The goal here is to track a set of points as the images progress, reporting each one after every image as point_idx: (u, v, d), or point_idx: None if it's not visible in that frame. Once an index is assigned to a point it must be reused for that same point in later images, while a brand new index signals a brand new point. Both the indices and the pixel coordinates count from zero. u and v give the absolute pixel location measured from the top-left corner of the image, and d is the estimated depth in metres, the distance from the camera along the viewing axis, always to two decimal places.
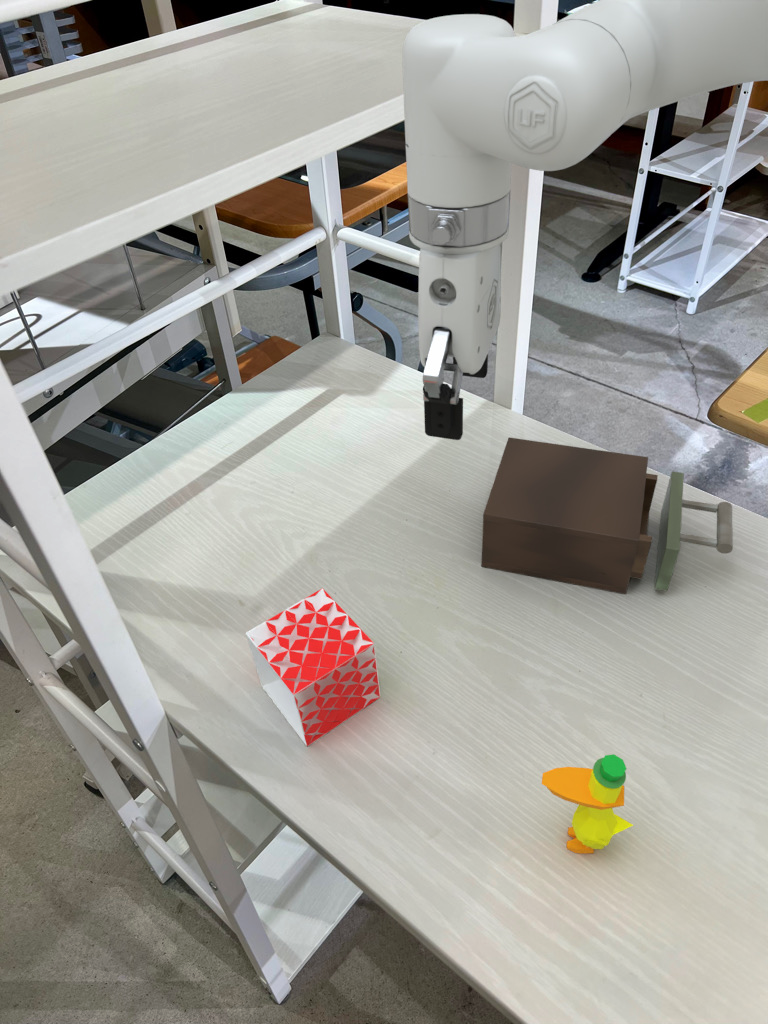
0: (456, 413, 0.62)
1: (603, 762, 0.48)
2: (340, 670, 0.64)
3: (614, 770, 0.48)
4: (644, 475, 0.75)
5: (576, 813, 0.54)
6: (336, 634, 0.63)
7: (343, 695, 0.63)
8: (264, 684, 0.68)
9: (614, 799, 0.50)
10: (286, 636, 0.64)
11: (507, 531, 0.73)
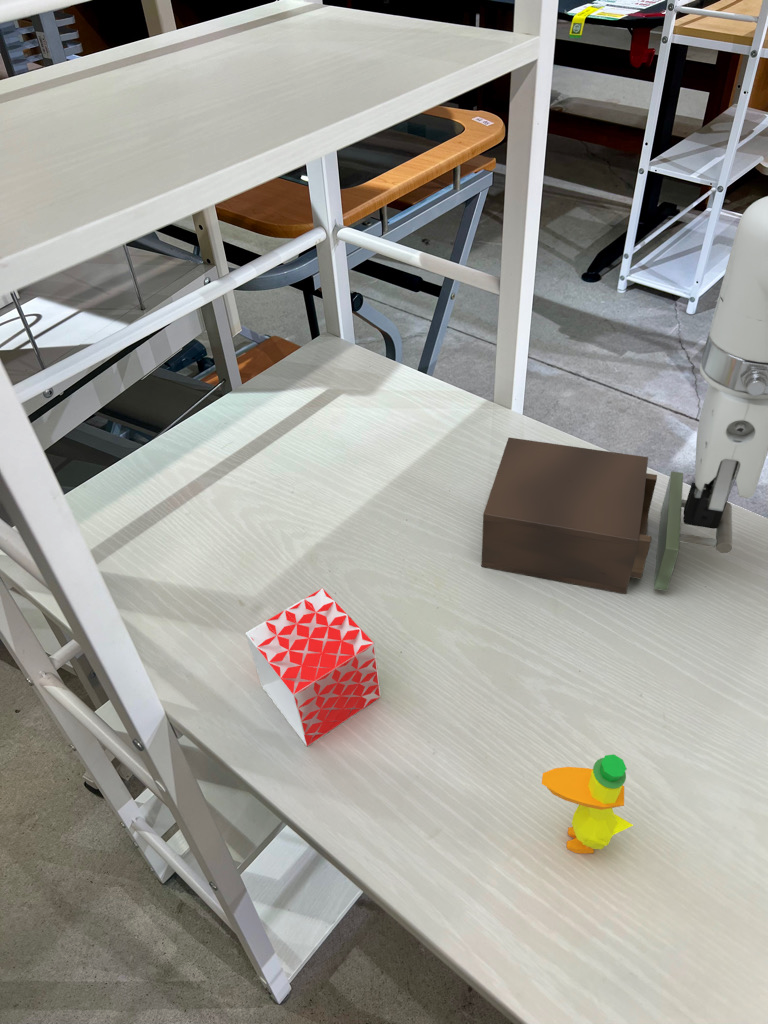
0: None
1: (603, 762, 0.48)
2: (340, 670, 0.64)
3: (614, 770, 0.48)
4: (644, 475, 0.75)
5: (576, 813, 0.54)
6: (336, 634, 0.63)
7: (343, 695, 0.63)
8: (264, 684, 0.68)
9: (614, 799, 0.50)
10: (286, 636, 0.64)
11: (507, 531, 0.73)
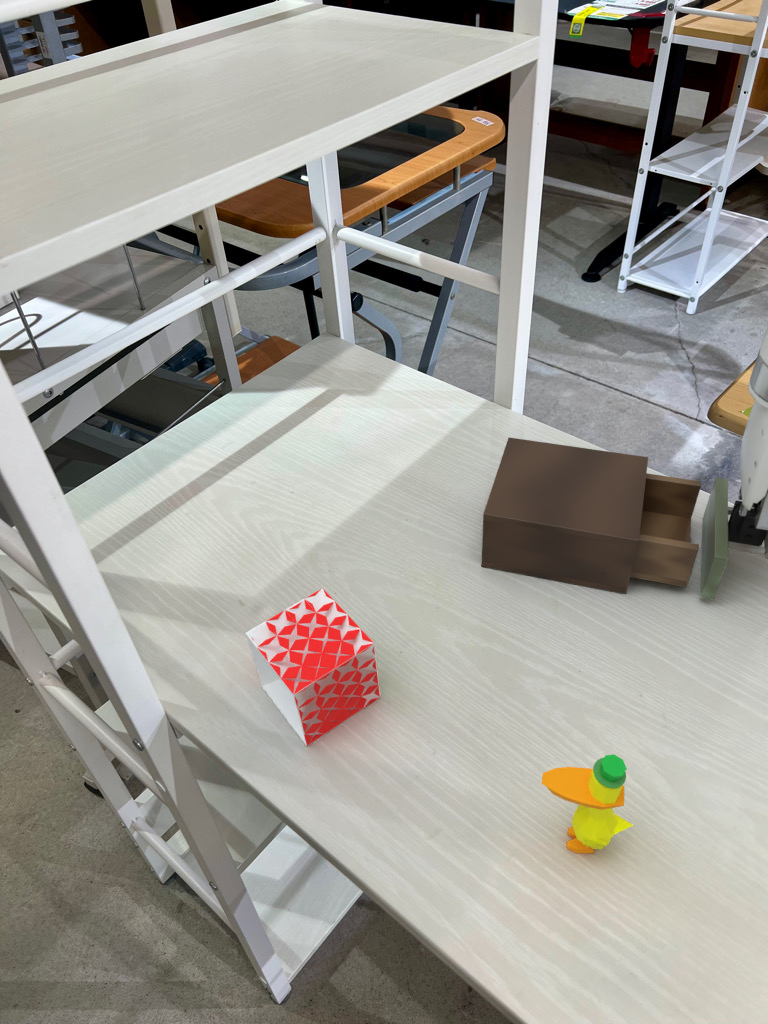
0: None
1: (603, 762, 0.48)
2: (340, 670, 0.64)
3: (614, 770, 0.48)
4: (644, 475, 0.75)
5: (576, 813, 0.54)
6: (336, 634, 0.63)
7: (343, 695, 0.63)
8: (264, 684, 0.68)
9: (614, 799, 0.50)
10: (286, 636, 0.64)
11: (507, 531, 0.73)
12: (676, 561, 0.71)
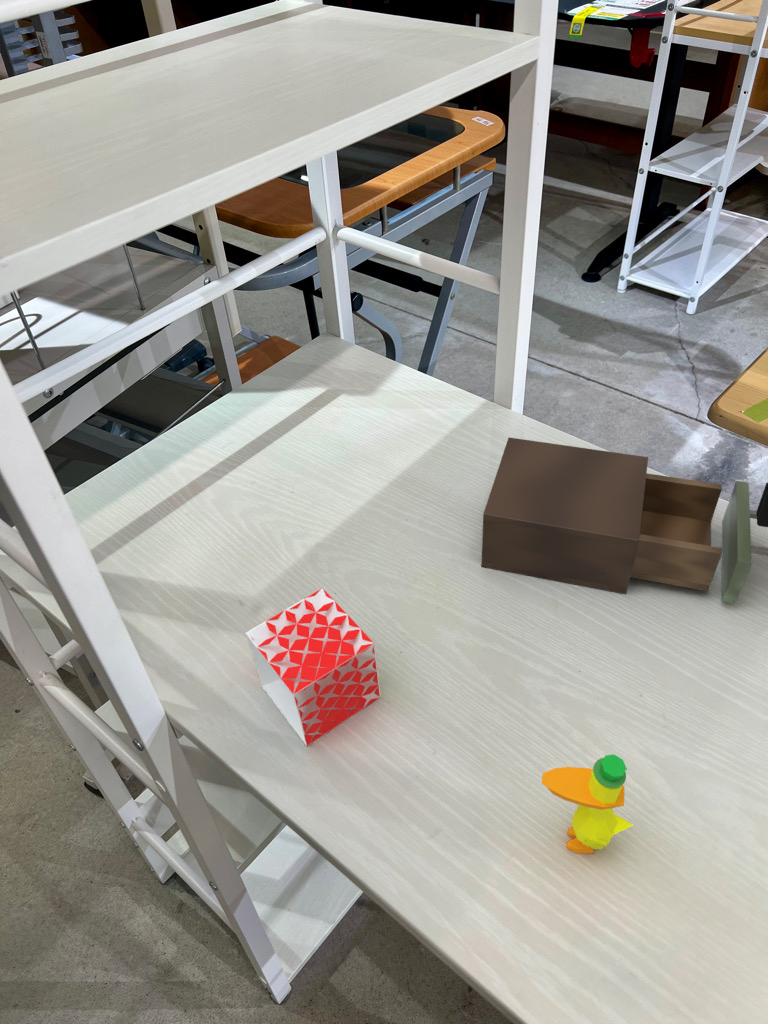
0: None
1: (603, 762, 0.48)
2: (340, 670, 0.64)
3: (614, 770, 0.48)
4: (644, 475, 0.75)
5: (576, 813, 0.54)
6: (336, 634, 0.63)
7: (343, 695, 0.63)
8: (264, 684, 0.68)
9: (614, 799, 0.50)
10: (286, 636, 0.64)
11: (507, 531, 0.73)
12: (698, 565, 0.70)
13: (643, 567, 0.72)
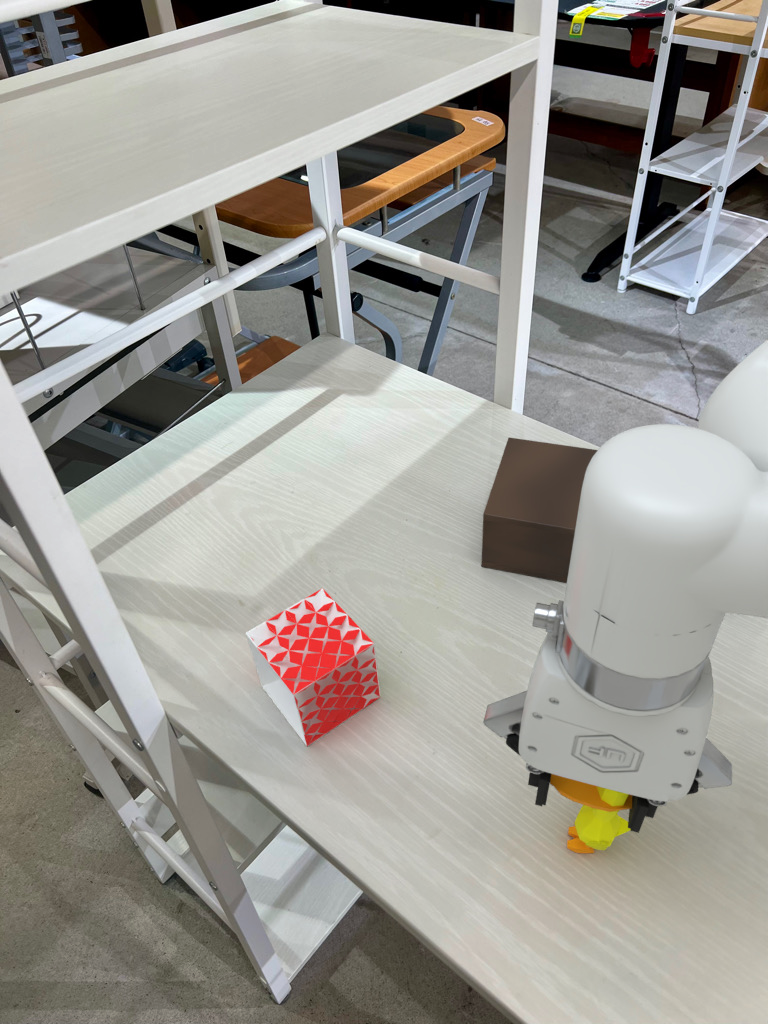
0: None
1: None
2: (340, 670, 0.64)
3: None
4: None
5: (580, 813, 0.54)
6: (336, 634, 0.63)
7: (343, 695, 0.63)
8: (264, 684, 0.68)
9: (623, 802, 0.49)
10: (286, 636, 0.64)
11: (507, 531, 0.73)
12: None
13: None
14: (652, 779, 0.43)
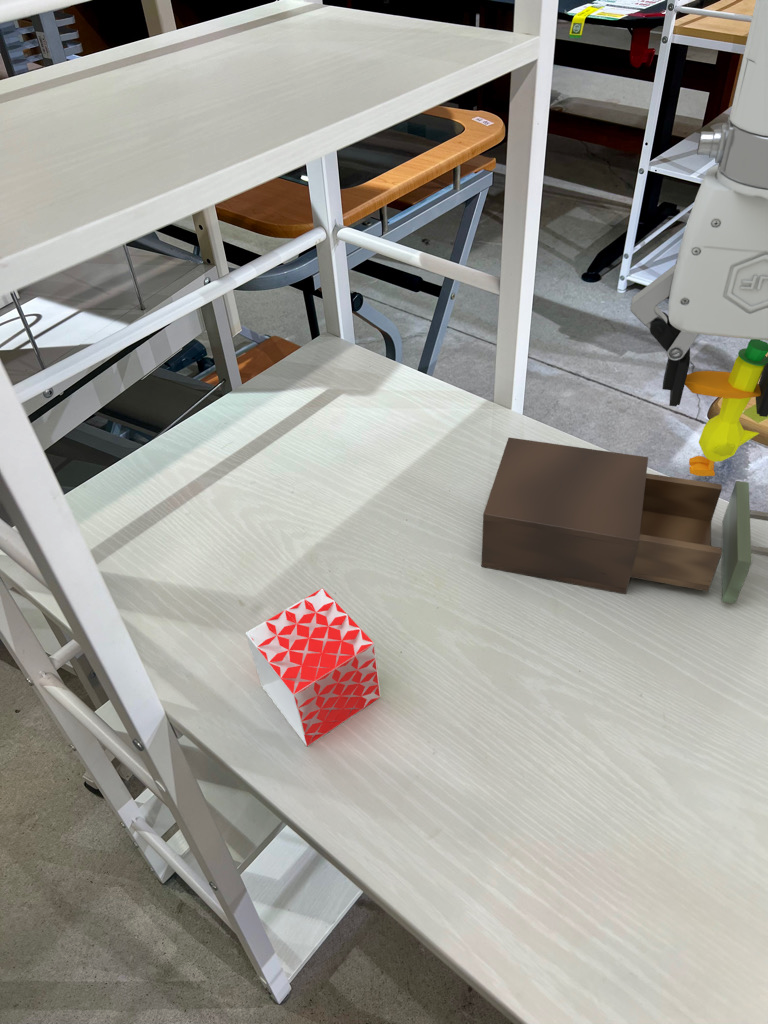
0: (676, 374, 0.56)
1: (750, 343, 0.54)
2: (340, 670, 0.64)
3: (761, 347, 0.53)
4: (644, 475, 0.75)
5: (706, 425, 0.59)
6: (336, 634, 0.63)
7: (343, 695, 0.63)
8: (264, 684, 0.68)
9: (754, 385, 0.55)
10: (286, 636, 0.64)
11: (507, 531, 0.73)
12: (698, 565, 0.70)
13: (643, 567, 0.72)
14: None
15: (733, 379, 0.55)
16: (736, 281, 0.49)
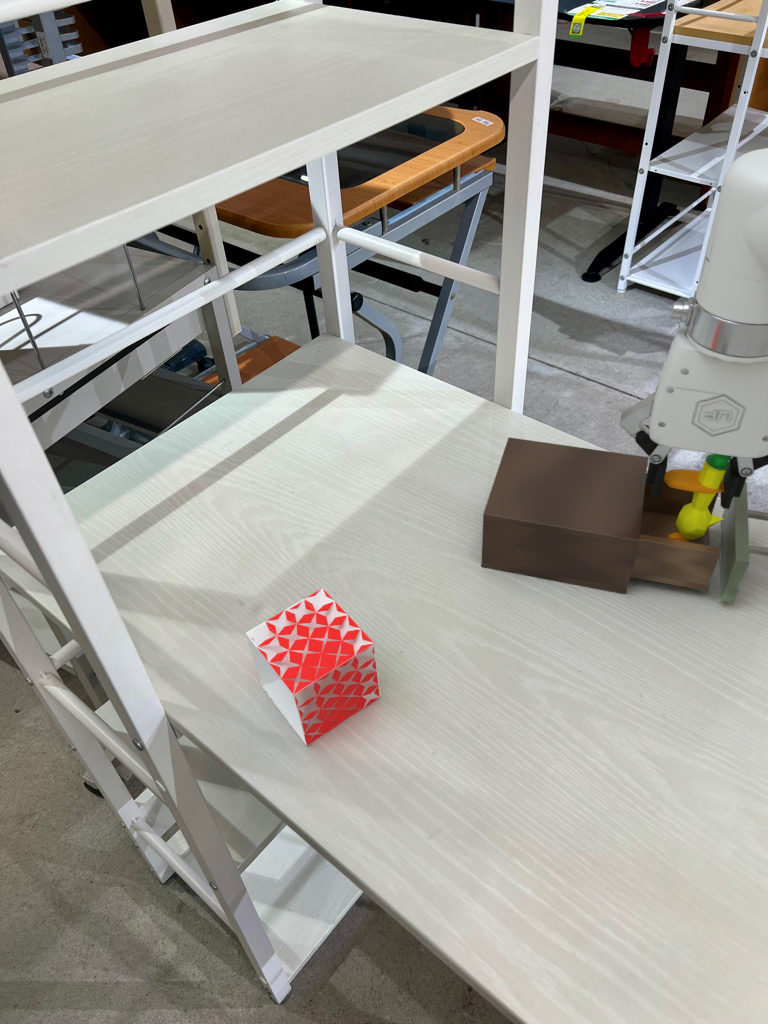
0: (656, 473, 0.69)
1: None
2: (340, 670, 0.64)
3: (723, 456, 0.67)
4: (644, 475, 0.75)
5: (681, 511, 0.73)
6: (336, 634, 0.63)
7: (343, 695, 0.63)
8: (264, 684, 0.68)
9: (718, 484, 0.69)
10: (286, 636, 0.64)
11: (507, 531, 0.73)
12: (696, 565, 0.70)
13: (641, 567, 0.72)
14: (749, 435, 0.62)
15: (702, 478, 0.69)
16: (701, 413, 0.62)
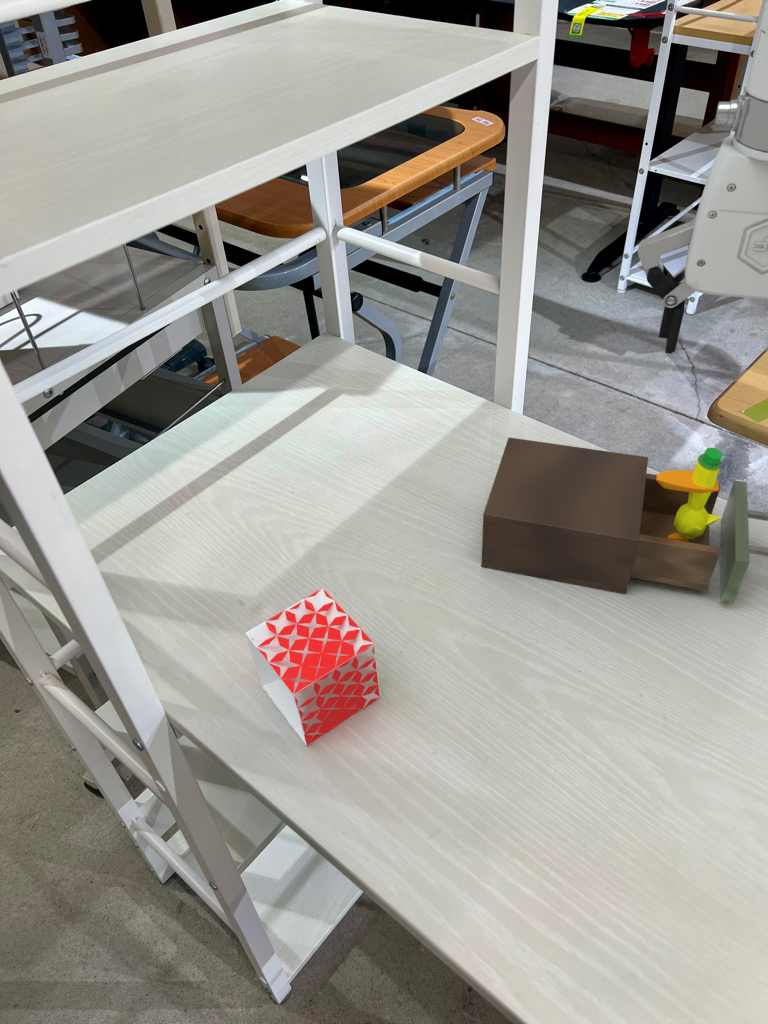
0: (671, 321, 0.59)
1: (706, 451, 0.67)
2: (340, 670, 0.64)
3: (714, 455, 0.67)
4: (644, 475, 0.75)
5: (678, 511, 0.73)
6: (336, 634, 0.63)
7: (343, 695, 0.63)
8: (264, 684, 0.68)
9: (712, 483, 0.69)
10: (286, 636, 0.64)
11: (507, 531, 0.73)
12: (696, 565, 0.70)
13: (641, 567, 0.72)
14: None
15: (695, 478, 0.69)
16: (749, 243, 0.52)
